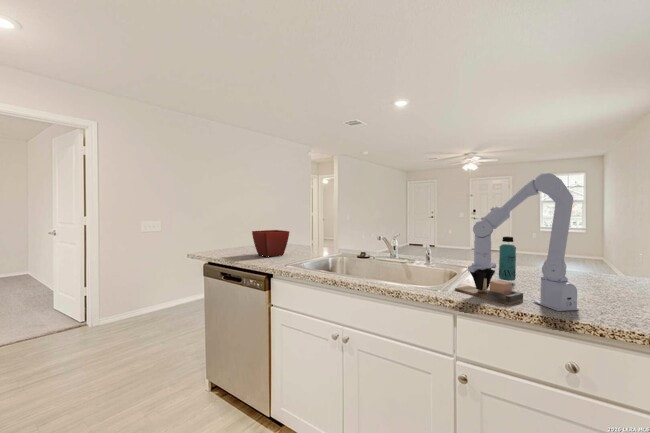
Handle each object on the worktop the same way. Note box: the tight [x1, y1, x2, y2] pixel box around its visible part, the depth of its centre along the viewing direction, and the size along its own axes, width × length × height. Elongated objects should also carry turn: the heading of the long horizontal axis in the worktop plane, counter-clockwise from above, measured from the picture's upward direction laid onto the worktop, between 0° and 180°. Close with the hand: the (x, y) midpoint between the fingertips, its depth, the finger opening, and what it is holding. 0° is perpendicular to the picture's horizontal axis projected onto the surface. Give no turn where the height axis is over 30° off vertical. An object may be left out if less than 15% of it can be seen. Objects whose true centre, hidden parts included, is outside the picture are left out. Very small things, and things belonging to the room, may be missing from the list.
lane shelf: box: [454, 284, 524, 306], centre depth 114 cm, size 21×8×3 cm, turn 30°
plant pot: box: [251, 229, 290, 258], centre depth 209 cm, size 19×19×17 cm
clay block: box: [478, 278, 513, 295], centre depth 113 cm, size 11×5×5 cm, turn 30°
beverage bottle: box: [498, 236, 517, 282], centre depth 133 cm, size 6×7×20 cm
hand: (482, 288), depth 116 cm, fingers closed on clay block, 3 cm apart
